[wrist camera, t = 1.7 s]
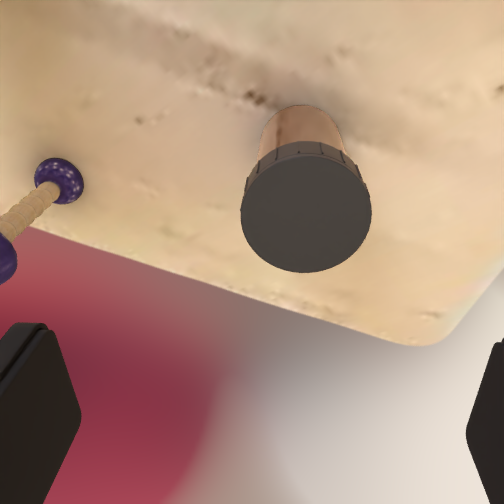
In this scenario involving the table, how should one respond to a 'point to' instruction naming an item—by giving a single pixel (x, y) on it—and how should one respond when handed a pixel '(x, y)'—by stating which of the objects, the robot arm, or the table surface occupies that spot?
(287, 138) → the jar
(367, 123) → the table surface
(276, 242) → the cap
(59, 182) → the toy lamp
